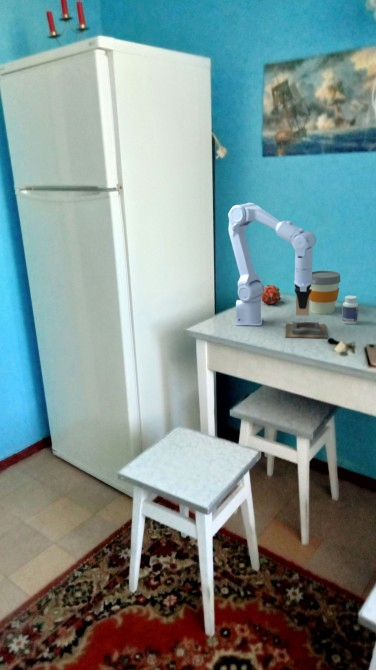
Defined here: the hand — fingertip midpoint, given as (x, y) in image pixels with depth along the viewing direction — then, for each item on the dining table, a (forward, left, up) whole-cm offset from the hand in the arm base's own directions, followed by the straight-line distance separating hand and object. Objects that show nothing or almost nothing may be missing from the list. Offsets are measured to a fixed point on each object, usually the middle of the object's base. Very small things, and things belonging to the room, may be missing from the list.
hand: (302, 306), depth 169 cm
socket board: (+1, +1, -9) cm, 10 cm away
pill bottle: (+17, +12, -10) cm, 23 cm away
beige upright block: (0, 0, -3) cm, 3 cm away
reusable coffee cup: (+8, +26, -10) cm, 29 cm away
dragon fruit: (-13, +36, -10) cm, 39 cm away
